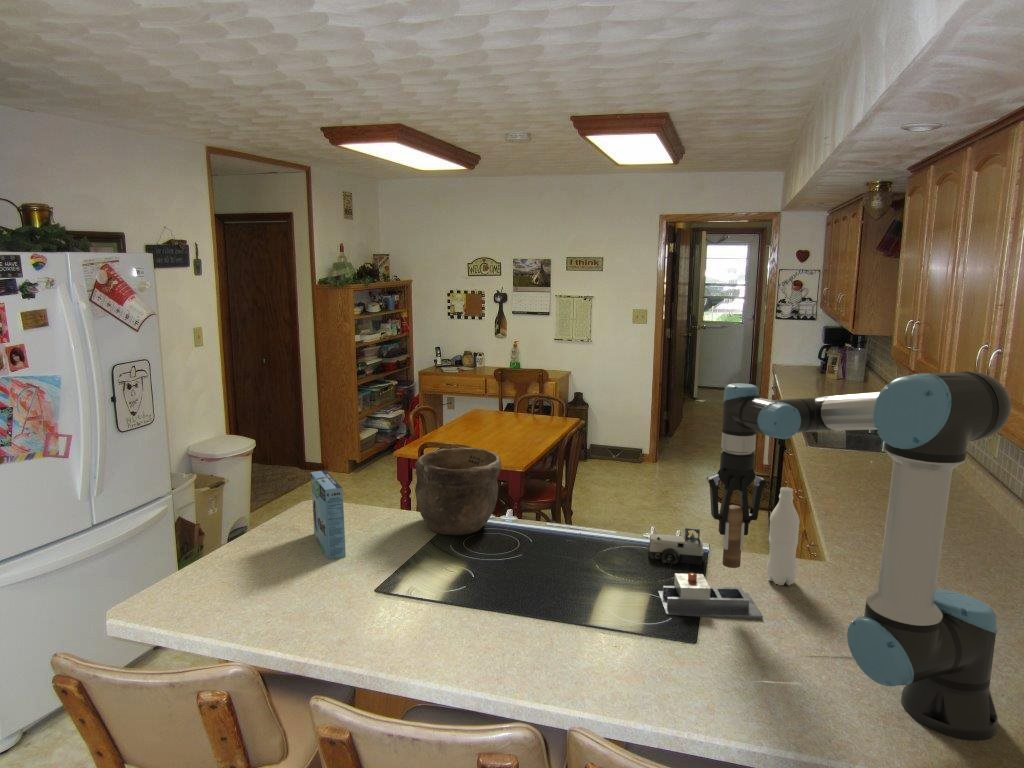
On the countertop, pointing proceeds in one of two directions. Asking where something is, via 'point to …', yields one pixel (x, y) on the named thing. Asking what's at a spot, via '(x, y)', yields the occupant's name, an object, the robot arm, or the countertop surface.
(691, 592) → the white rectangular block
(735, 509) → the dowel peg
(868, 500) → the countertop surface
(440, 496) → the clay pot
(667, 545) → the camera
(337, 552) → the blue carton box
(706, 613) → the mount
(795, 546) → the water bottle
